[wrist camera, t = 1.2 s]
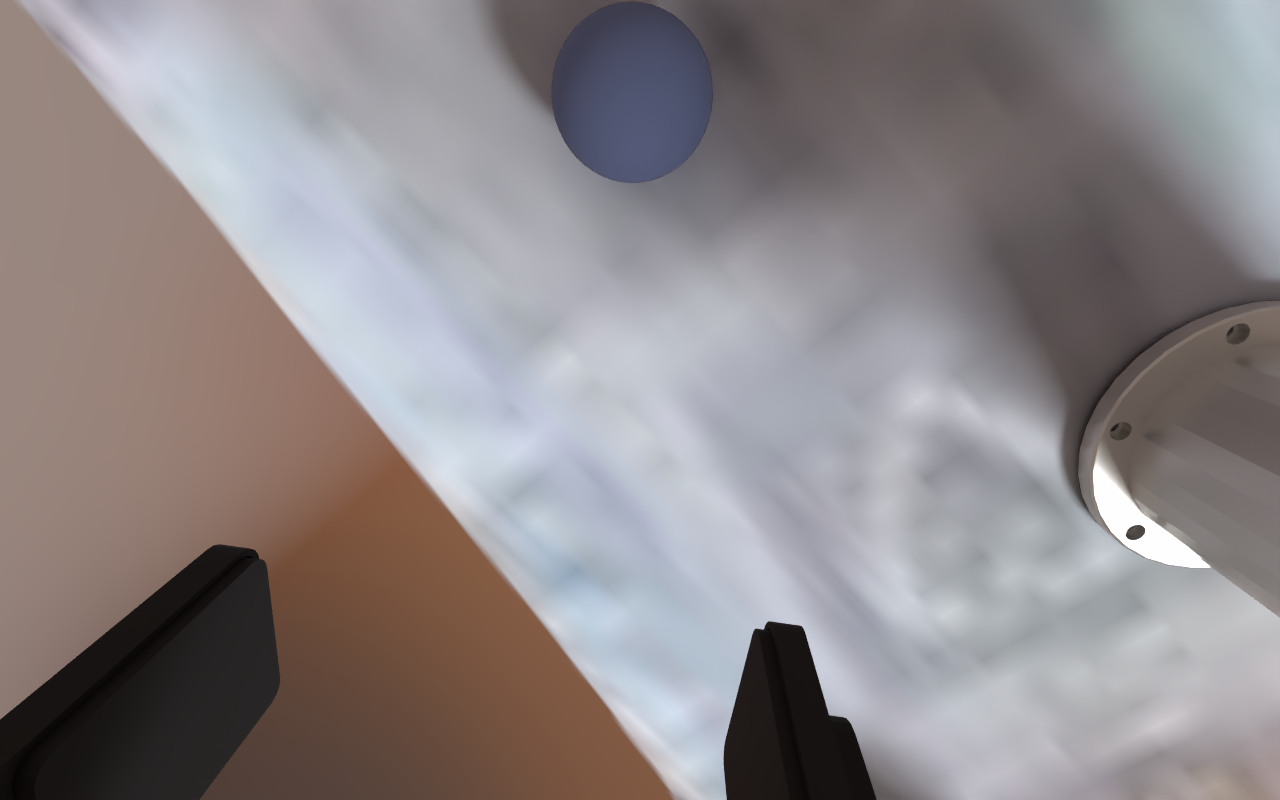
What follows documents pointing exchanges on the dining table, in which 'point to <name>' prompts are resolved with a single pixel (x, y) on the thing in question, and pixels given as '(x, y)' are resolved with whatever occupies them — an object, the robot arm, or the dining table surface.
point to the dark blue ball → (632, 92)
